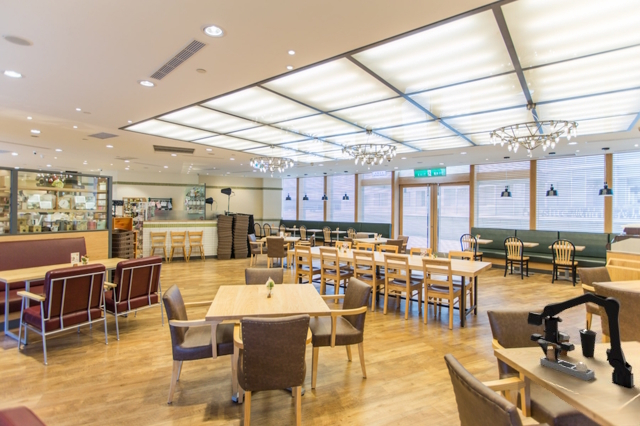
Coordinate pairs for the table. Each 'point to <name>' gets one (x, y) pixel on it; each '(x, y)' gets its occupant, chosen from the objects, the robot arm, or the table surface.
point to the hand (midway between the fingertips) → (551, 358)
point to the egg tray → (567, 368)
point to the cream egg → (581, 367)
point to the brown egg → (551, 355)
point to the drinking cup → (587, 342)
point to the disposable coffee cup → (565, 339)
